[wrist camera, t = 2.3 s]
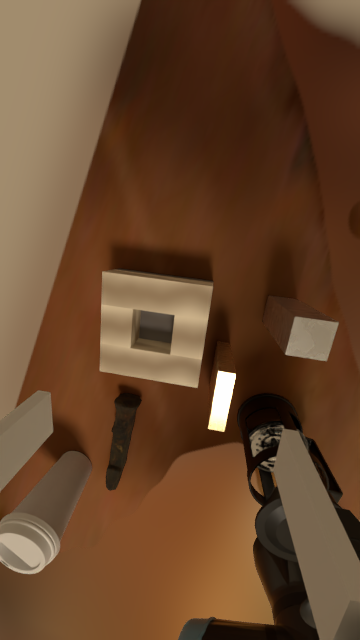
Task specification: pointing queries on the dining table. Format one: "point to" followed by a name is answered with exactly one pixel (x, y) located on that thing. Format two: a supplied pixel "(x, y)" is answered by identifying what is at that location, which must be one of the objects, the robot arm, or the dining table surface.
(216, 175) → the dining table surface
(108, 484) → the hand tool
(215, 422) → the beige rectangular slab
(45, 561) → the coffee cup
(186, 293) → the bore block
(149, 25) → the dining table surface
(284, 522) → the french press
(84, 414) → the dining table surface
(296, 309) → the square bit
